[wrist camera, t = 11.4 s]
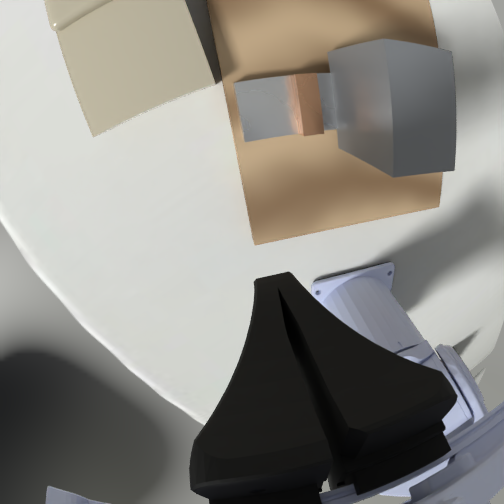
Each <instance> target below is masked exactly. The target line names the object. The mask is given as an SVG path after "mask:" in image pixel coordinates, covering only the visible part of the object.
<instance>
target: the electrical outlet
mask: <svg viewBox="0 0 504 504" xmlns="http://www.w3.org/2000/svg"><path fill="white" fill-rule="evenodd" d="M44 2H45V6H46V11H47V15H48V19H49V23H50V27H51V29H52V30H53V31H56V33H57V37H58V40H59V44H60V47H61V50H62V54H63V57H64V60H65V63H66V66H67V69H68V72H69V75H70V78H71V81H72V84H73V87H74V90H75V92H76V95H77V98H78V101H79V103H80V106H81V108H82V111H83V114H84V116H85V119H86V121H87V124H88V126H89V128H90V131H91V133H92V136H93V137H95V136H97V135H100V134H102V133H104V132H107V131H109V130H111V129H113V128H115V127H117V126H119V125H121V124H123V123H125V122H127V121H129V120H131V119H133V118H135V117H137V116H139V115H141V114H144V113H146V112H148V111H150V110H152V109H155V108H157V107H159V106H162V105H164V104H166V103H169V102H171V101H174V100H176V99H179V98H181V97H184V96H186V95H189V94H192V93H194V92H197V91H200V90H203V89H205V88H208V87H211V86H214V85H215V80H214V78H213V75H212V72H211V69H210V66H209V64H208V61H207V58H206V55H205V53H204V50H203V47H202V45H201V42H200V39H199V36H198V34H197V31H196V28H195V26H194V23H193V20H192V18H191V15H190V12H189V10H188V7H187V5H186V2H185V0H44Z"/></svg>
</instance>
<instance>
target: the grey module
mask: <svg viewBox="0 0 504 504" xmlns="http://www.w3.org/2000/svg"><path fill="white" fill-rule="evenodd" d="M327 54H328V61H329V67H330V74H331V81H332V89H333V97H334V106H335V115H336V125H337V137H338V148H339V149H341V150H343V151H345V152H347V153H349V154H351V155H353V156H355V157H357V158H359V159H361V160H362V161H364V162H366V163H368V164H370V165H372V166H373V167H375V168H377V169H379V170H380V171H382V172H384V173H386V174H387V175H389V176H391V177H393V178H396V177H403V176H411V175H419V174H428V173H437V172H446V171H454V169H455V154H456V93H455V78H454V68H453V59H452V52H451V51H448V50H444V49H439V48H435V47H431V46H426V45H421V44H416V43H410V42H404V41H398V40H391V39H379V40H374V41H369V42H364V43H360V44H356V45H352V46H348V47H344V48H340V49H336V50H333V51H329V52H327Z"/></svg>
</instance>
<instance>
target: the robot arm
mask: <svg viewBox="0 0 504 504" xmlns="http://www.w3.org/2000/svg"><path fill="white" fill-rule="evenodd" d="M394 269H395V265H394V264H393V263H392V262H388V263H385V264H381V265H377V266H373V267H370V268H366V269H362V270H358V271H354V272H351V273H347V274H343V275H339V276H335V277H331V278H327V279H323V280H319V281H315V282H314V283H313V284H312V286H311V292H312V295H311V294H310V293H309V292H308V291H307V290H306V289H305V288H304V287H303V286H302V285H301V283H300V282H299V281H298V280H297V279H296V278H295V277H294V275H293V274H292V273H290V272H285V273H280V274H276V275H272V276H267V277H262V278H258V279H256V280H255V281H254V304H253V310H252V316H251V321H250V326H249V330H248V333H247V337H246V341H245V344H244V347H243V350H242V353H241V356H240V359H239V361H238V364H237V367H236V369H235V371H234V373H233V376H232V378H231V380H230V382H229V385H228V387H227V389H226V391H225V392H224V394H223V396H222V398H221V400H220V401H219V403H218V405H217V407H216V409H215V410H214V412H213V414H212V415H211V417H210V418H209V420H208V421H207V423H206V424H205V426H204V427H203V429H202V430H201V431H200V433H199V435H198V436H197V437H196V439H195V440H194V444H193V448H192V452H191V458H190V467H189V471H190V487H191V490H192V491H193V492H195V493H196V494H199V495H201V496H203V497H205V498H208V499H209V504H353V503H356V502H359V501H361V500H364V499H367V498H370V497H372V496H375V495H377V494H380V495H388V496H411V499H410V500H408V501H405V502H403V503H401V504H490V501H489V500H490V499H491V498H493V496H495V495H496V494H497V493H498V492H499V491H500V490H501V489H502V488H503V487H504V401H503V402H502V403H501V404H499V405H498V406H497V407H496V408H494V409H493V410H492V411H490V412H489V413H488V411H487V409H486V407H485V404H484V402H483V401H484V400H483V396H482V394H481V391H480V390H479V387H478V385H477V384H476V382H475V380H474V378H473V377H472V375H471V373H470V372H469V370H468V368H467V367H466V365H465V364H464V362H463V361H462V359H461V358H460V357H459V355H458V354H457V353H456V351H455V350H454V349H453V348H452V347H451V346H449V345H443V344H439V345H438V346H437V347H436V348H435V350H436V352H437V353H438V355H439V357H440V358H441V361H442V362H441V361H440V359H439V358H438V356H437V355H436V353H435V352H434V350H433V349H432V347H431V346H430V344H429V343H428V341H427V340H424V338H423V337H422V335H421V334H420V332H419V331H418V329H417V328H416V326H415V325H414V324H413V322H412V321H411V319H410V318H409V316H408V315H407V314H406V312H405V311H404V309H403V308H402V307H401V305H400V304H399V303H398V301H397V300H396V299H395V297H394V296H393V294H392V293H391V288H392V282H393V276H394ZM389 271H390V272H389ZM388 272H389V273H388ZM318 290H319V291H318ZM316 291H318V292H316ZM442 363H443V364H442ZM444 366H445V367H444ZM445 368H446V369H445ZM447 371H448V372H447ZM327 478H328V482H329V487H330V490H331V491H328V492H324V493H321V494H319V492H322V485H323V482H324V481H326V480H327ZM46 504H109V503H103V502H98V501H93V500H89V499H87V498H85V497H83V496H80V495H77V494H74V493H71V492H68V491H64V490H61V489H57V488H54V487H50V486H49V487H47V496H46Z"/></svg>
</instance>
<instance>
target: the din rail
mask: <svg viewBox="0 0 504 504" xmlns="http://www.w3.org/2000/svg"><path fill="white" fill-rule="evenodd" d="M233 88H234V93H235V99H236V104H237V109H238V114H239V120H240V125H241V130H242V136H243V140H244V142H250V141H256V140H262V139H268V138H274V137H280V136H287V135H293V134H300V135H302V136H311V135H319V134H324V131H325V130H335V129H337V125H336V115H335V106H334V97H333V89H332V81H331V74H330V73H306V74H294V75H289V76H279V77H270V78H262V79H255V80H248V81H242V82H236V83H233Z"/></svg>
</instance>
